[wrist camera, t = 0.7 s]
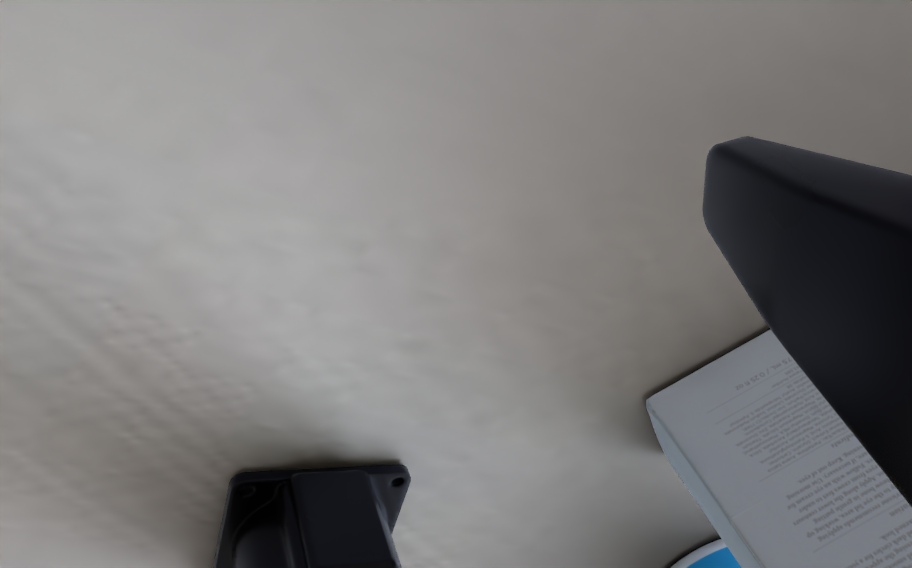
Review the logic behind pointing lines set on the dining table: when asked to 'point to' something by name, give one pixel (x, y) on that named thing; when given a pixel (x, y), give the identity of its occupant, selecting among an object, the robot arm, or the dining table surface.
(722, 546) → the blue lidded canister
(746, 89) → the dining table surface
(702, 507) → the skincare box
